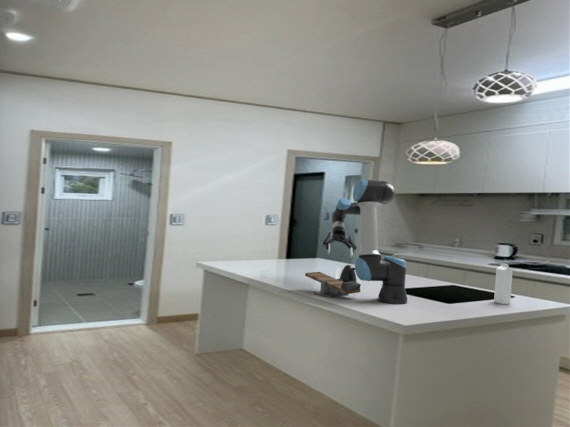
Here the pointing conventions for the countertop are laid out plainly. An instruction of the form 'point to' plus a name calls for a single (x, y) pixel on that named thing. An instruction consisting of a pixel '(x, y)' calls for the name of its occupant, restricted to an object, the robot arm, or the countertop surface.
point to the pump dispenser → (348, 274)
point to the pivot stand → (329, 291)
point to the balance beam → (335, 283)
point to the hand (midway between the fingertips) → (340, 255)
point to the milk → (503, 284)
